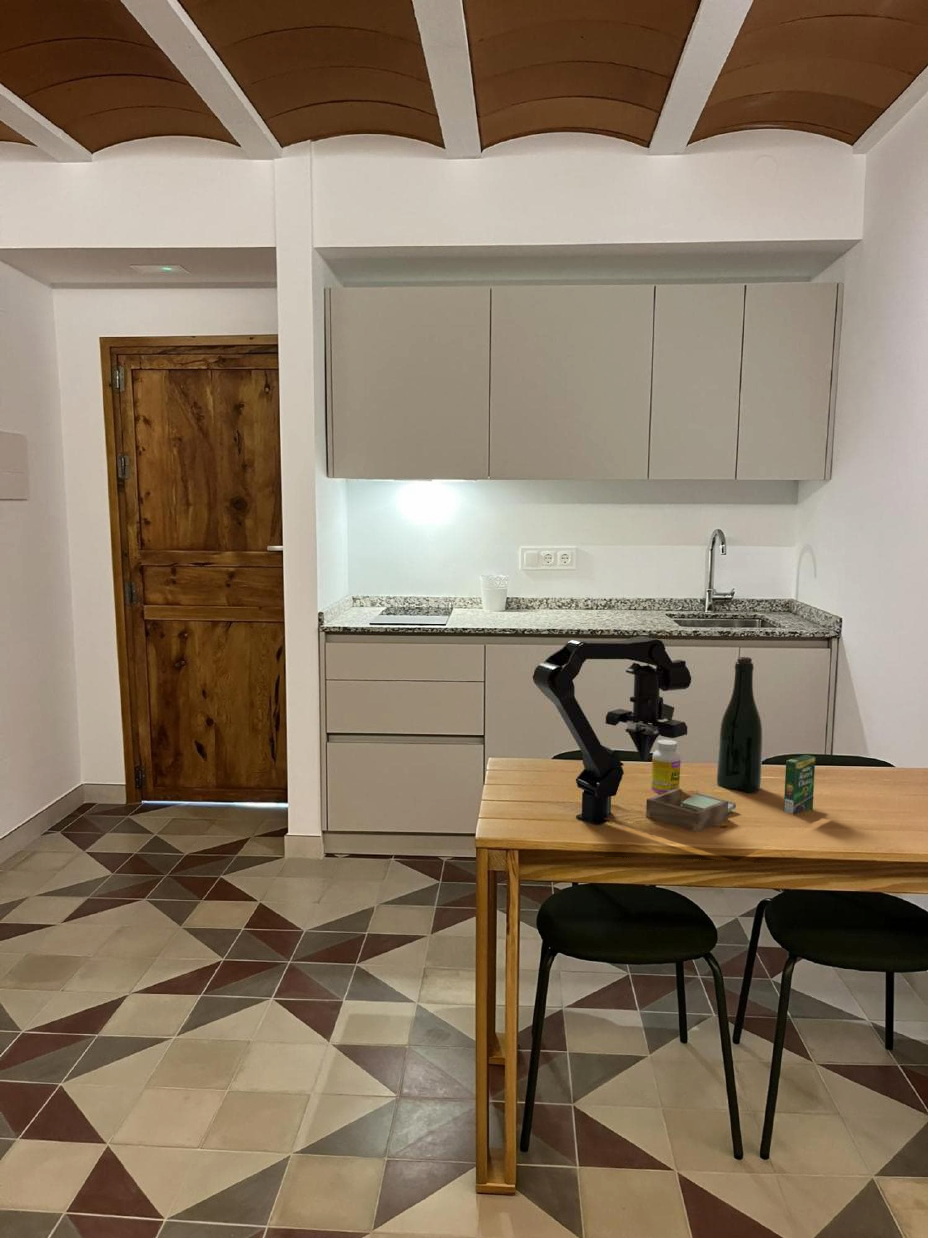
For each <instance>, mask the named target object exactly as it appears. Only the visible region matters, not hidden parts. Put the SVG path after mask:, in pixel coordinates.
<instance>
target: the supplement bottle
mask: <svg viewBox="0 0 928 1238" xmlns="http://www.w3.org/2000/svg"><path fill="white" fill-rule="evenodd" d="M656 746H657V750H655V751H654V752H653V753H652V762H651V784H650V789H651V791H653V792H655V793H658V794H659V793H660V794H663V793H665V792H668V791H671V790H674V789H676V788H679V789H680V776H681V754H679V752H678V751H676V750H677V748H678V742H677V741H675V740H671V739H659V740H657V742H656Z"/></svg>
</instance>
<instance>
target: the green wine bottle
mask: <svg viewBox="0 0 928 1238" xmlns="http://www.w3.org/2000/svg"><path fill="white" fill-rule="evenodd" d="M752 659H753V658H751V657H748V656H739V657H737V660H736V662H735V663H734V682H733V689H732V694H731V697H730V699H729V702H728V704H727V706H726V709H725V710H724V713H723V715H722V718H721V722H720V729H719V738H718V754H717V767H716V768H717V771H716V773H717V774H716V785H717V787H719V788H723V789H726V790H729V791H736V792H739V793H743V794H747V795H748V794H749V795H750V794H754V793H757V792H758V791H760V790H761V785H762V768H763V767H762V763H763V725H762V719H761V716H760V714H759V713H760V712H759V710H758V707H757V704H756V700H755V696H754V695H755V694H754V687H753V686H754V683H753V681H754V679H753V678H754V677H753V676H754V668H755V667H754V663H753V662H752V661H753V660H752Z"/></svg>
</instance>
